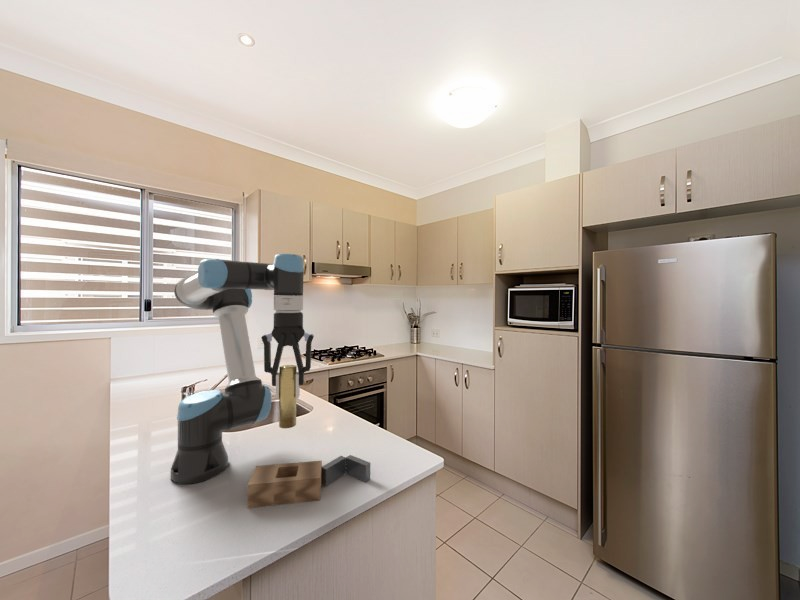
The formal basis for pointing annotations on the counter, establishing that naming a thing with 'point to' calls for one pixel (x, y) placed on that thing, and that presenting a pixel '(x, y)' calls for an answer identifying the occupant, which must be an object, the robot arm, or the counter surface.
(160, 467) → the counter surface
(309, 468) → the wooden block with hole
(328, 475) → the v block
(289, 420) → the axle
